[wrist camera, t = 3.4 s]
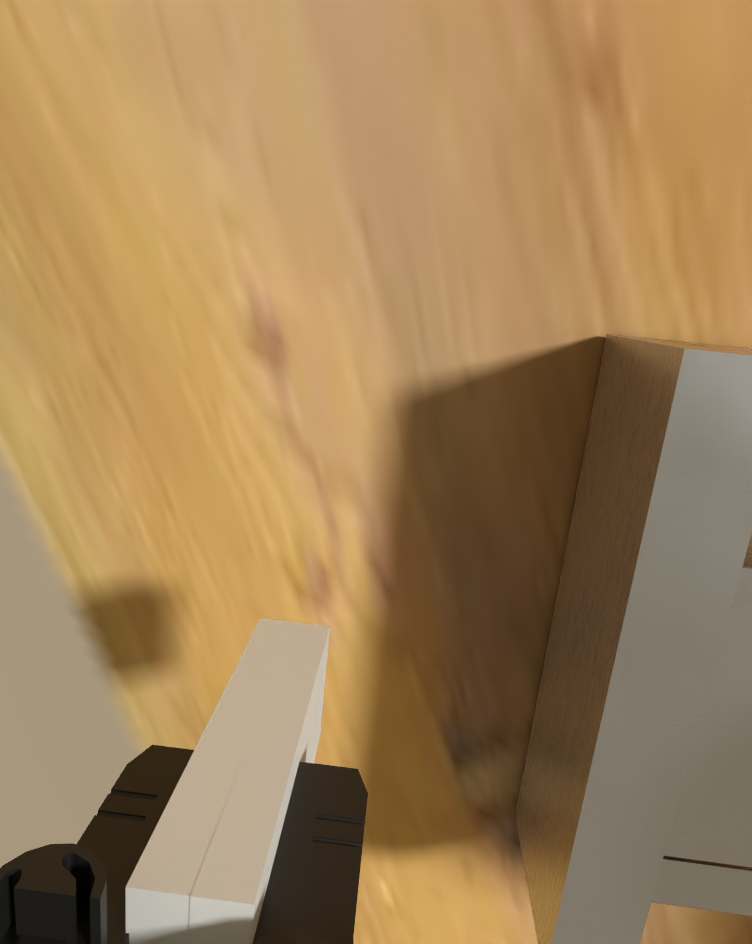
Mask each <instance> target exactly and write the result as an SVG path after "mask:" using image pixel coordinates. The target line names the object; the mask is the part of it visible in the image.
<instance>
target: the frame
mask: <svg viewBox="0 0 752 944" xmlns="http://www.w3.org/2000/svg"><path fill="white" fill-rule="evenodd" d="M515 818H516V824H517V830H518V835H519V841H520V846H521V852H522V857H523V863H524V868H525V874H526V880H527V885H528V891H529V896H530V902H531V907H532V913H533V918H534V924H535V930H536V935H537V941H538V944H640V941H641V938H642V934H643V930H644V927H645V923H646V919H647V916H648V912H649V908H650V905H651V902H653V903H660V904H667V905H674V906H682V907H689V908H696V909H703V910H710V911H718V912H725V913H732V914H739V915H746V916H752V349H747V348H737V347H727V346H718V345H708V344H698V343H688V342H679V341H669V340H659V339H649V338H640V337H630V336H620V335H611V334H607V335H606V341H605V346H604V351H603V356H602V362H601V367H600V372H599V377H598V382H597V388H596V393H595V398H594V403H593V409H592V414H591V419H590V424H589V430H588V435H587V440H586V445H585V451H584V456H583V461H582V466H581V472H580V477H579V482H578V487H577V493H576V498H575V503H574V508H573V514H572V519H571V524H570V529H569V535H568V540H567V545H566V550H565V556H564V561H563V566H562V571H561V577H560V582H559V587H558V592H557V598H556V603H555V608H554V613H553V619H552V624H551V629H550V634H549V639H548V645H547V650H546V655H545V660H544V666H543V671H542V676H541V681H540V687H539V692H538V697H537V702H536V708H535V713H534V718H533V723H532V729H531V734H530V739H529V744H528V750H527V755H526V760H525V765H524V771H523V776H522V781H521V786H520V792H519V797H518V802H517V807H516V813H515Z"/></svg>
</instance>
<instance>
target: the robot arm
mask: <svg viewBox="0 0 752 944" xmlns="http://www.w3.org/2000/svg"><path fill="white" fill-rule="evenodd" d="M329 630H330V627H329V626H321V625H313V624H304V623H296V622H288V621H280V620H271V619H263V618H260V620H259V622H258V624H257V626H256V628H255V630H254V632H253V634H252V636H251V638H250V640H249V642H248V644H247V646H246V648H245V650H244V652H243V654H242V656H241V658H240V660H239V662H238V664H237V666H236V668H235V670H234V672H233V674H232V676H231V678H230V680H229V682H228V684H227V686H226V688H225V690H224V692H223V694H222V696H221V698H220V700H219V702H218V704H217V706H216V708H215V710H214V712H213V714H212V716H211V718H210V720H209V722H208V724H207V726H206V728H205V730H204V732H203V734H202V736H201V738H200V740H199V742H198V744H197V746H196V748H195V750H189V749H181V748H173V747H165V746H157V745H152V746H150V747H149V748H148V749H146V750H145V751H144V752H143V753H141V754H140V755H139V756H137V757H136V758H135V759H134V760H132V761H131V762H130V763H128V764H127V765H126V767H125V769H124V770H123V772H122V774H121V775H120V777H119V778H118V780H117V781H116V783H115V785H114V786H113V788H112V789H111V793H110V794H108V796H107V797H106V799H105V800H104V802H103V803H102V805H101V807H100V808H99V810H98V814H97V816H96V815H95V816H94V818H93V819H92V821H91V822H90V824H89V825H88V827H87V829H86V830H85V832H84V833H83V835H82V837H81V838H80V840H79V841H78V843H77V844H50V845H46V846H43V847H40V848H37V849H34V850H30V851H27V852H25V853H23V854H22V855H20V856H18V857H17V858H15V859H13V860H12V861H10V862H8V863H6V864H5V865H3V866H2V867H1V868H0V944H353V934H354V924H355V914H356V904H357V894H358V884H359V874H360V864H361V854H362V844H363V835H364V824H365V815H366V805H367V795H368V793H367V790H366V788H365V786H364V783H363V781H362V778H361V776H360V773H359V771H358V769H353V768H345V767H338V766H330V765H322V764H314V761H315V756H316V752H317V748H318V743H319V739H320V731H321V720H322V709H323V698H324V686H325V675H326V664H327V653H328V641H329Z"/></svg>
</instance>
